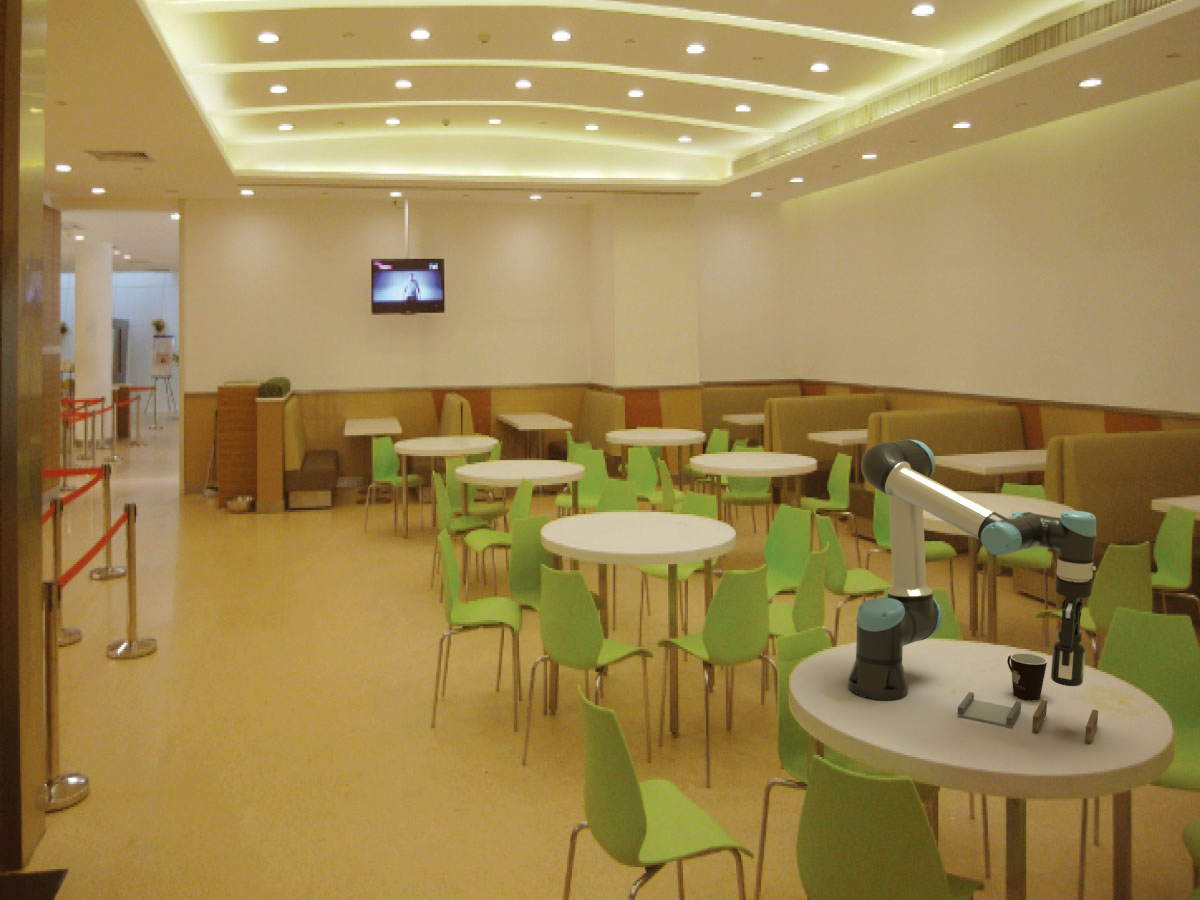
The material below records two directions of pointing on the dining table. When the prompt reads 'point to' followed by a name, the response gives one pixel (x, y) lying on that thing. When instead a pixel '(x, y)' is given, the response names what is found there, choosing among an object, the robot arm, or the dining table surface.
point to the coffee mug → (1027, 675)
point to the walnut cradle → (1041, 714)
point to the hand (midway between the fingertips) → (1067, 672)
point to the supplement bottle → (1077, 662)
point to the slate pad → (988, 711)
